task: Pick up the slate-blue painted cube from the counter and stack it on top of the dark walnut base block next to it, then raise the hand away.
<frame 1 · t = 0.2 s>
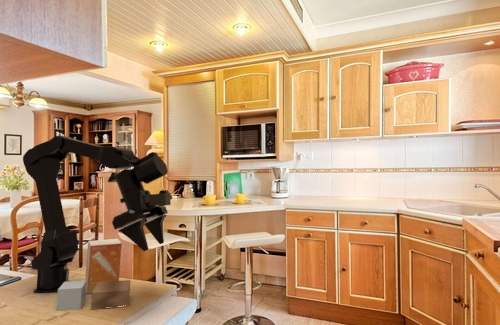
hand: (154, 246, 76), 14 cm above the counter, tool tilted 30°, fingers open, 9 cm apart
base block: (111, 301, 75), on the counter
small box: (101, 288, 83), on the counter
cube: (71, 305, 72), on the counter
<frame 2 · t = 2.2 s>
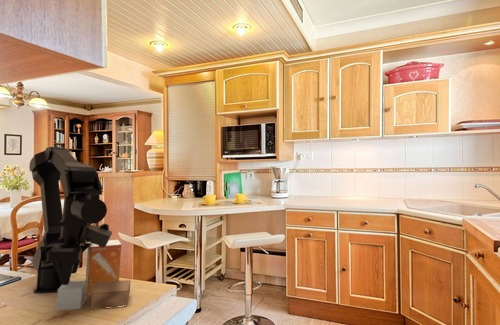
hand: (69, 278, 73), 6 cm above the counter, tool pointing down, fingers open, 7 cm apart
small box: (101, 289, 83), on the counter, touching gripper
everything else where it was.
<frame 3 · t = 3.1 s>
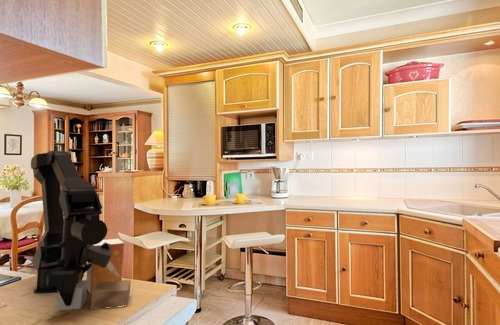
hand: (71, 300, 72), 1 cm above the counter, tool pointing down, fingers closed on cube, 5 cm apart
small box: (103, 288, 84), on the counter
cube: (71, 304, 72), on the counter, touching gripper
when the fingers open (5 cm above the counter, at t = 7.1 s): cube stays where it is, resting on base block.
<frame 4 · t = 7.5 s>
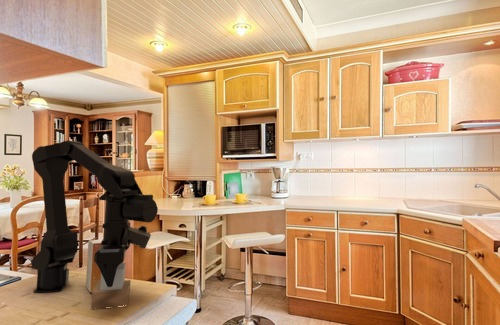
hand: (112, 280, 75), 6 cm above the counter, tool pointing down, fingers open, 9 cm apart
cube: (112, 286, 75), point 4 cm above the counter, touching base block
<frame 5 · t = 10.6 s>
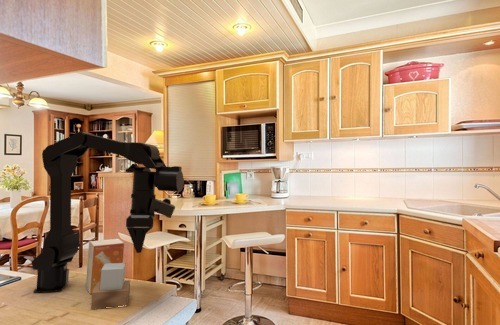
hand: (140, 247, 79), 13 cm above the counter, tool pointing down, fingers open, 9 cm apart
at the end: cube 0.1 cm off-centre on the base block, point 4.0 cm above the base block's base; cube tilted 0°; the gripper is holding nothing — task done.
